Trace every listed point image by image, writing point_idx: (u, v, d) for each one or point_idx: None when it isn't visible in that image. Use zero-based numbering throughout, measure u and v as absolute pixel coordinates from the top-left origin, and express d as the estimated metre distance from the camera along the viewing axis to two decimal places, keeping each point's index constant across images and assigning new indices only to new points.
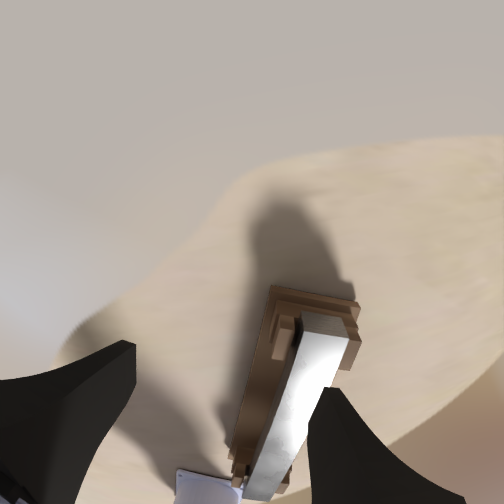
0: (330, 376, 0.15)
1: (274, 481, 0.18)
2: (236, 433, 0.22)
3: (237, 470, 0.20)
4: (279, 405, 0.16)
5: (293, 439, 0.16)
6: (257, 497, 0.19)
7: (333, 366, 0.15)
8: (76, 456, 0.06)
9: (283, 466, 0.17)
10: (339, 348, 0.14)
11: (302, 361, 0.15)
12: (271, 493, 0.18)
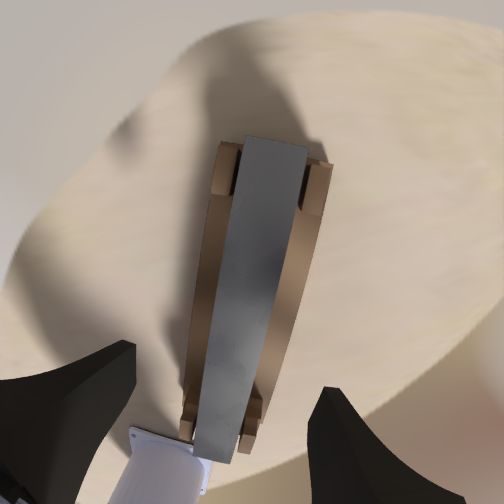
0: (290, 211, 0.11)
1: (231, 425, 0.14)
2: (188, 362, 0.18)
3: (186, 412, 0.16)
4: (221, 267, 0.12)
5: (248, 337, 0.13)
6: (213, 455, 0.15)
7: (292, 193, 0.11)
8: (76, 456, 0.06)
9: (240, 395, 0.14)
10: (297, 162, 0.11)
11: (247, 182, 0.11)
12: (230, 448, 0.15)
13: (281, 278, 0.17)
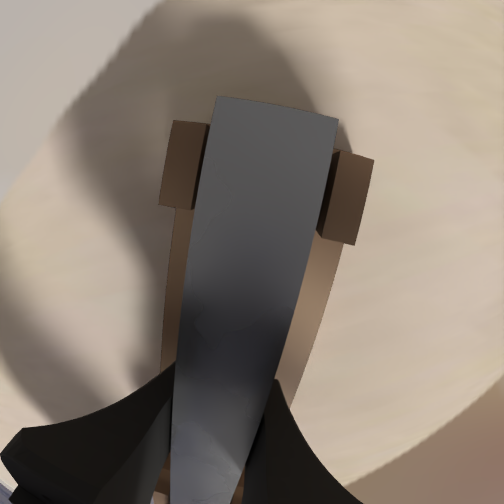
0: (302, 241, 0.06)
1: None
2: None
3: (160, 480, 0.11)
4: (180, 334, 0.07)
5: (231, 431, 0.07)
6: None
7: (307, 205, 0.06)
8: (147, 486, 0.06)
9: (223, 485, 0.08)
10: (317, 146, 0.05)
11: (219, 185, 0.06)
12: None
13: None
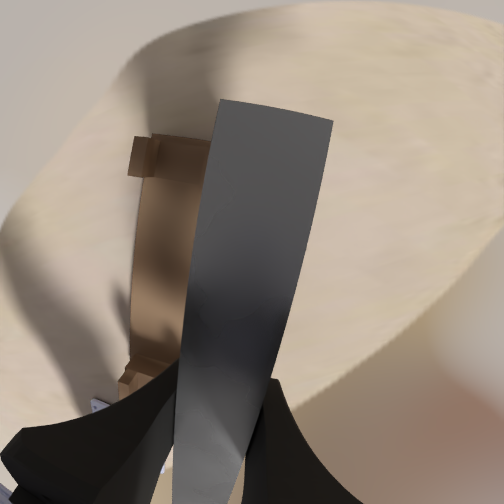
0: (299, 233, 0.06)
1: (215, 500, 0.09)
2: (131, 331, 0.20)
3: (124, 376, 0.18)
4: (185, 323, 0.07)
5: (232, 419, 0.08)
6: None
7: (304, 200, 0.06)
8: (147, 486, 0.06)
9: (224, 475, 0.09)
10: (313, 145, 0.06)
11: (222, 182, 0.06)
12: None
13: None
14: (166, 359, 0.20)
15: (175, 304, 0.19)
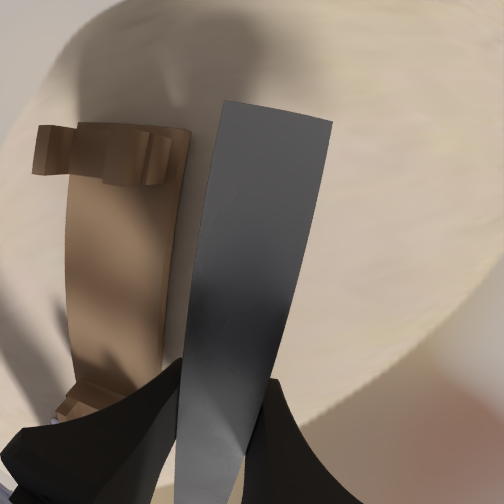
0: (301, 230, 0.07)
1: (217, 495, 0.10)
2: (73, 354, 0.16)
3: (63, 405, 0.13)
4: (189, 317, 0.07)
5: (235, 412, 0.08)
6: None
7: (305, 198, 0.06)
8: (147, 486, 0.06)
9: (226, 470, 0.09)
10: (313, 145, 0.06)
11: (226, 180, 0.06)
12: None
13: (137, 267, 0.14)
14: (112, 387, 0.16)
15: (112, 327, 0.15)
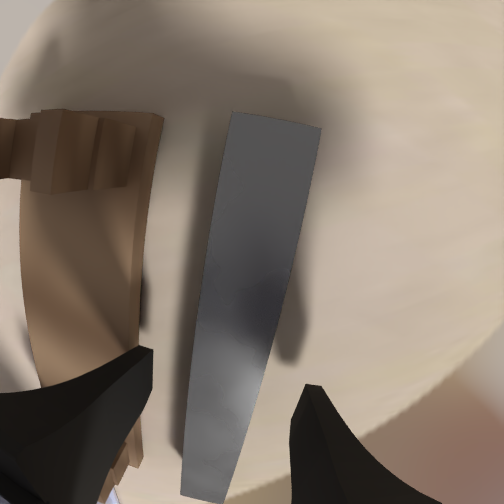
0: (295, 218, 0.08)
1: (222, 470, 0.11)
2: (42, 385, 0.12)
3: None
4: (201, 294, 0.09)
5: (240, 382, 0.09)
6: (203, 496, 0.12)
7: (299, 191, 0.08)
8: (96, 466, 0.06)
9: (231, 442, 0.10)
10: (305, 148, 0.07)
11: (234, 177, 0.08)
12: (223, 491, 0.11)
13: (98, 294, 0.10)
14: None
15: (78, 361, 0.11)
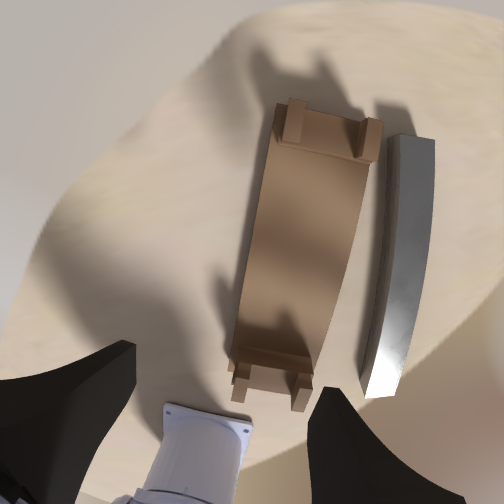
0: (431, 180, 0.15)
1: (401, 352, 0.18)
2: (238, 320, 0.19)
3: (240, 370, 0.17)
4: (397, 223, 0.16)
5: (416, 271, 0.16)
6: (382, 390, 0.19)
7: (431, 168, 0.15)
8: (76, 456, 0.06)
9: (409, 322, 0.17)
10: (430, 149, 0.15)
11: (406, 164, 0.15)
12: (397, 377, 0.18)
13: (333, 229, 0.17)
14: (276, 347, 0.20)
15: (297, 285, 0.18)
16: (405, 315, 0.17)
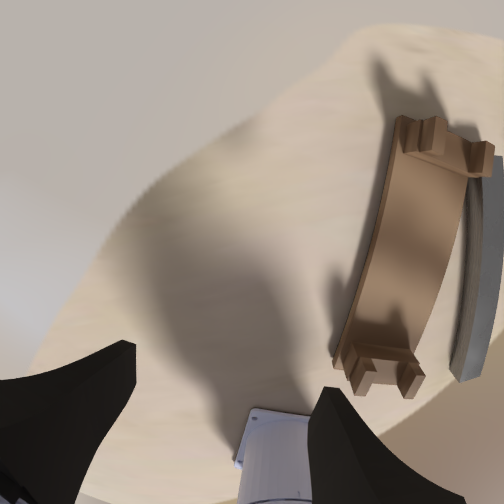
0: (503, 191, 0.15)
1: (486, 338, 0.18)
2: (355, 317, 0.19)
3: (365, 364, 0.17)
4: (482, 231, 0.16)
5: (496, 268, 0.16)
6: (472, 373, 0.18)
7: (502, 181, 0.15)
8: (76, 456, 0.06)
9: (492, 311, 0.17)
10: (500, 165, 0.15)
11: (486, 180, 0.15)
12: (483, 360, 0.18)
13: (441, 231, 0.17)
14: (383, 341, 0.19)
15: (409, 281, 0.18)
16: (489, 306, 0.17)
